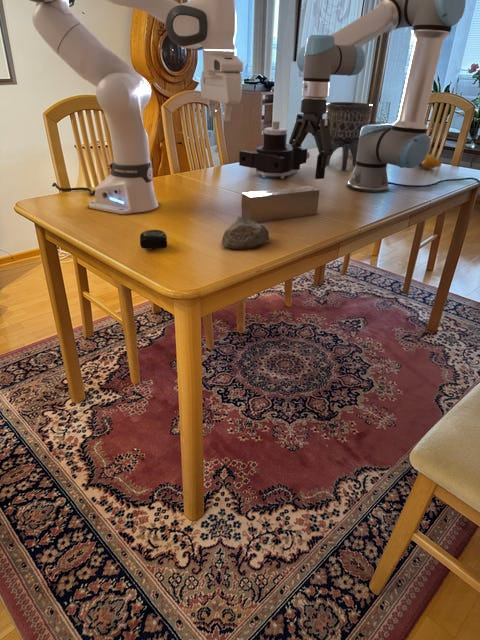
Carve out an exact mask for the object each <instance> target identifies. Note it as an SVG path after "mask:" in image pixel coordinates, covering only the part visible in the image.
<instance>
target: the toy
mask: <svg viewBox="0 0 480 640" xmlns="http://www.w3.org/2000/svg"><path fill="white" fill-rule="evenodd" d="M441 165H442V162H441V160H437V159H436V157H435V156H434V155H432V154H427V156H426V157H425V159H424V160H423V161H422V162H421V163H420V164H419V165H418V166H417V167H422V168H423V169H426V170H432V169H435V168H438V167H440V166H441Z"/></svg>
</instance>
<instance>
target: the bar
mask: <svg viewBox="0 0 480 640" xmlns="http://www.w3.org/2000/svg"><path fill="white" fill-rule="evenodd" d="M319 198H320V189H318V188H317V187H315V186H312V185H303V186H293V187H285V188H275V189H267V190H265V189H264V190H257V191H248V192H241V217H242V218H245V219H248V220H252V221H254V222H257V223H262V222H263V223H264V222H270V221H278V220H284V219H292V218H293V219H294V218H299V217H307V216H313V215H318V208H319V200H320V199H319Z"/></svg>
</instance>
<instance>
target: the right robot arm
mask: <svg viewBox="0 0 480 640" xmlns="http://www.w3.org/2000/svg"><path fill="white" fill-rule="evenodd" d="M466 2H467V1H466V0H380V1H379V2H378V3H377V5H376V7H375V8H373V9H372V10H370V11H369V12H367V13H365V14H363V15H362V16H360V17H359V18H357V19H356V20H354V21H351V22H350V23H349V24H347V25H345V26H344V27H342V28H341V29H339V30H337V31H336V32H333V33H332V34H331V35H329V34H311V35H309V36H308V37H307V39H306V45H304V46H302V47H301V48H300V49H299V50H298V52H297V55H296V66H297V68H298V70H299V71H300V72H301V73H303V77H302V78H303V79H302V89H301V90H302V91H301V96H302V97H303V98H301V100H300V109H299V110H300V113H298V114H297V115H296V119H295V123H294V126H293V129H292V132H291V135H290V138H289V140H288V144H290V145H292V148H293V152H292V167H291V170H298V171H299V170H300V169H301V164H300V160H301V149H302V148H303V147H302V144H303V142H304V141H305V139H306V138H307V136H308V134H311V136H313V139H314V141H315V144H316V148H317V151H318V155H317V157H316V158H317V159H316V166H315V175H314V179H315V180H322V179H325V173H326V167H327V165H326V162H327V156H328V155H332V156H333V154H334V152H333V149H332V143H331V136H330V129H329V124H330V120H329V119H326V118H323V117H324V116H323V115H326V110H327V103H328V99H327V98H328V97H329V95H330V94H329V93H330V82H331V76H348V77H351V76H356V75H357V76H358V75H359V74H360V73H361V72H362V70H363V69H364V67H365V65H366V59H367V57H366V52H365V50H364V48H362V47H363V46H365V45H366V44H368V43H369V42H371V41H372V40H375V39H376V38H378V37H379V36H381V35H383V34H384V33H385V34H389V33H392V32H394V31H396V30H397V29H402V28H403V29H404V28H411V34H412V35H413V37H414V41H413V47H412V51H411V56H410V60H409V65H408V69H407V75H406V79H405V83H404V88H403V94H402V97H401V103H400V106H399V112H398V117H397V120H395V122H393V123H379V124H369V125H365V126H363V127H362V128H361V131H360V136H359V142H358V150H357V158H356V165H355V166H354V167H353V171H351V172H350V173H349V179H348V180H347V181H348V182H347V187H348V188H349V189H351V190H354V191H358V192H363V193H364V192H365V193H382V192H386V191H388V189H389V185H392V186H397V187H404V188H405V187H406V188H427V187H428V188H429V187H432V186H437V185H438V184H441V183H445V182H458V181H466V180H468V181H469V180H472V181H476V182H477V183H478V184H480V180H479V179H478V178H476V177H463V178H462V177H461V178H448V179H447V178H446V179H441V180H438V181H436V182H433V183H429V184H421V185H419V184H418V185H415V184H404V183H403V184H402V183H397V182H390V181H389V178H388V173H387V172H388V171H387V166H388V165H392V166H396V167H399V168H402V169H403V168H405V169H414V168H416V167H419V166H418V165H419V164H420V163H421V162H422V161H423V160H424V159H425V157H426V156H427V155H429V151H430V148H431V138H430V136H429V135H428V134H427V130H428V126H427V125H426V124H425V119H426V115H427V110H428V106H429V102H430V97H431V93H432V89H433V86H434V85H433V84H434V81H435V77H436V72H437V68H438V64H439V60H440V55H441V51H442V48H443V43H444V40H445V39H446V38H447V37H448V36H449V35H451V32H452V27H453V26H455V25H457V24H458V23H459V22H460V21H461V19H462V17H463V16H464V13H465V9H466V4H467V3H466ZM299 147H300V148H299ZM328 150H329V151H328Z"/></svg>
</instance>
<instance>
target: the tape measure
mask: <svg viewBox="0 0 480 640" xmlns="http://www.w3.org/2000/svg"><path fill="white" fill-rule="evenodd" d="M167 236H168V235H167V234H166V232H165V231H164V230H161V229H147V230H144V231H143V232H141V233H140V235H139V240H140V241H139V245H140V246H139V247H141V248H142V249H146V250H157V249H167V248H168V240H167V239H168V237H167Z"/></svg>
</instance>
